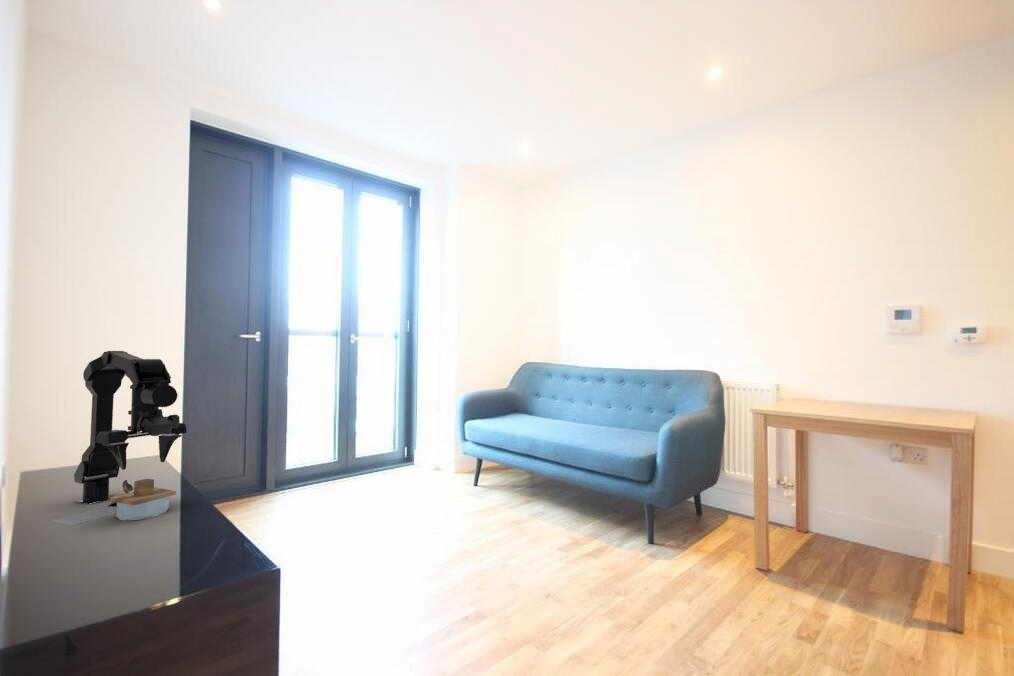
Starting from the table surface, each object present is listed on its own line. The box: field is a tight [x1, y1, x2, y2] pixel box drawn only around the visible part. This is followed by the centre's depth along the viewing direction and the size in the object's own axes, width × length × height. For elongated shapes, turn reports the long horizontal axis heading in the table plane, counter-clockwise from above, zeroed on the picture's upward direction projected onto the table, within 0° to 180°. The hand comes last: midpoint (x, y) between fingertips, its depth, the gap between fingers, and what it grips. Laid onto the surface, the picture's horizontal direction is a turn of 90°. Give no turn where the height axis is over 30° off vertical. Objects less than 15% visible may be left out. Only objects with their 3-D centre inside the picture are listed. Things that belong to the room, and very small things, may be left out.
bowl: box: [116, 496, 170, 521], centre depth 120 cm, size 10×10×4 cm
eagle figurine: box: [107, 479, 134, 507], centre depth 130 cm, size 8×7×9 cm
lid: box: [109, 478, 177, 505], centre depth 120 cm, size 10×10×4 cm
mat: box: [51, 508, 117, 527], centre depth 118 cm, size 10×10×1 cm
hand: (143, 465), depth 121 cm, fingers open, 9 cm apart
